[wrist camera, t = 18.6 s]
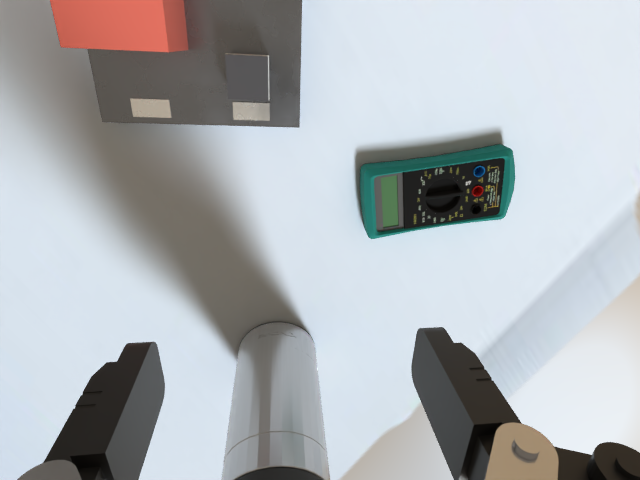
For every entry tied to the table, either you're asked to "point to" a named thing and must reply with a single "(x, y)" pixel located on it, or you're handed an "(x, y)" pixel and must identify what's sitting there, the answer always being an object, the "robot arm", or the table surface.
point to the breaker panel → (207, 69)
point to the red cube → (121, 24)
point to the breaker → (247, 76)
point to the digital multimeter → (436, 190)
